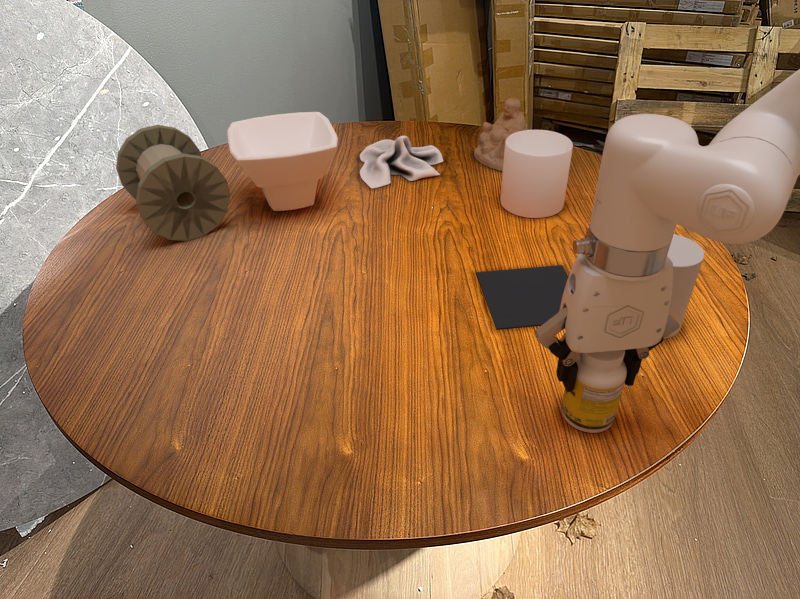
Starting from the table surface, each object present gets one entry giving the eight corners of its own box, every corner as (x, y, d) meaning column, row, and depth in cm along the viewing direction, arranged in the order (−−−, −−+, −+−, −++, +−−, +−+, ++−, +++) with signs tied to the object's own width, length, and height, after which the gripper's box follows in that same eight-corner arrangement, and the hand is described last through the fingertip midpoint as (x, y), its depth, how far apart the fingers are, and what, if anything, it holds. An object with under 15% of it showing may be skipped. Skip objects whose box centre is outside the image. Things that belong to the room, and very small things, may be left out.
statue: (556, 110, 124) (520, 104, 119) (533, 176, 131) (498, 174, 125) (518, 93, 133) (483, 87, 127) (498, 156, 139) (464, 153, 134)
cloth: (367, 142, 140) (365, 115, 136) (448, 146, 137) (449, 119, 133) (342, 187, 123) (340, 158, 119) (435, 193, 120) (435, 163, 116)
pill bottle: (562, 392, 77) (575, 324, 70) (613, 401, 76) (632, 332, 69) (558, 429, 72) (572, 360, 66) (613, 439, 71) (633, 370, 64)
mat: (562, 265, 99) (562, 264, 99) (593, 320, 88) (593, 319, 88) (476, 273, 98) (476, 272, 98) (496, 329, 87) (496, 328, 87)
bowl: (330, 174, 127) (323, 108, 119) (349, 219, 112) (343, 147, 104) (238, 187, 123) (224, 120, 115) (246, 236, 109) (231, 162, 100)
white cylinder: (522, 182, 122) (528, 124, 115) (575, 200, 116) (585, 139, 109) (488, 205, 115) (492, 144, 108) (542, 225, 109) (550, 162, 102)
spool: (130, 211, 117) (105, 136, 108) (207, 190, 123) (190, 117, 114) (152, 251, 105) (127, 170, 96) (236, 225, 112) (219, 147, 102)
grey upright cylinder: (693, 324, 87) (717, 252, 79) (655, 346, 83) (677, 274, 76) (645, 296, 92) (664, 226, 85) (608, 316, 89) (624, 245, 81)
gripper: (550, 277, 56) (530, 412, 67) (732, 261, 57) (683, 396, 68) (528, 234, 62) (512, 364, 73) (693, 220, 63) (653, 351, 74)
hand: (595, 379), depth 70 cm, fingers closed on pill bottle, 6 cm apart
